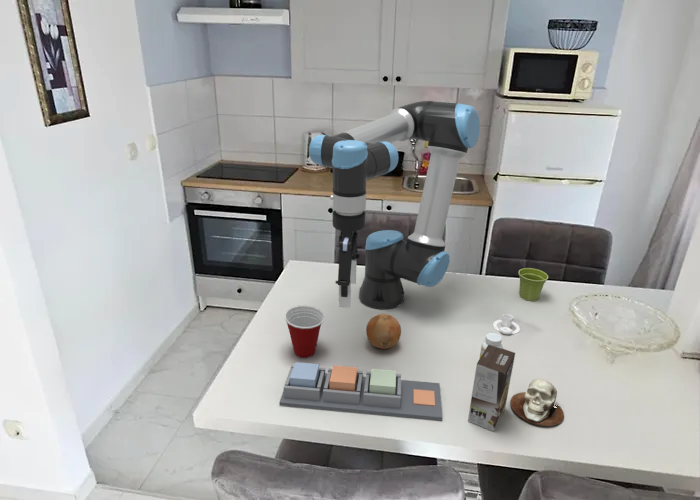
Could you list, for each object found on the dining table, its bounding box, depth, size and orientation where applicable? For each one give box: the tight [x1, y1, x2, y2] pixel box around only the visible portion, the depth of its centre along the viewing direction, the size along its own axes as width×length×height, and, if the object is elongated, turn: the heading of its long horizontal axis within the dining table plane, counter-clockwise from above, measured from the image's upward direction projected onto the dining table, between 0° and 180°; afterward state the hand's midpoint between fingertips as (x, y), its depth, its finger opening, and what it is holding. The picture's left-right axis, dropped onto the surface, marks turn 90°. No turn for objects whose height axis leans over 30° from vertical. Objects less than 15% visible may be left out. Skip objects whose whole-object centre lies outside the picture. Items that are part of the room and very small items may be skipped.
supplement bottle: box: [478, 332, 504, 359], centre depth 127 cm, size 5×5×10 cm
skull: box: [509, 378, 565, 427], centre depth 114 cm, size 12×10×10 cm
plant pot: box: [518, 267, 549, 302], centre depth 163 cm, size 9×9×9 cm
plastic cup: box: [283, 304, 326, 359], centre depth 132 cm, size 11×11×12 cm
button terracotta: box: [329, 365, 358, 392], centre depth 117 cm, size 6×6×3 cm
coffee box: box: [467, 345, 516, 432], centre depth 110 cm, size 9×6×16 cm
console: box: [278, 364, 443, 422], centre depth 118 cm, size 38×12×4 cm, turn 83°
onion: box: [365, 313, 402, 350], centre depth 136 cm, size 10×10×10 cm
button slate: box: [290, 361, 320, 388], centre depth 118 cm, size 6×6×3 cm
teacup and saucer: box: [492, 313, 521, 335], centre depth 147 cm, size 9×8×4 cm
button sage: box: [369, 368, 397, 395], centre depth 116 cm, size 6×6×3 cm
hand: (347, 294), depth 119 cm, fingers open, 11 cm apart
